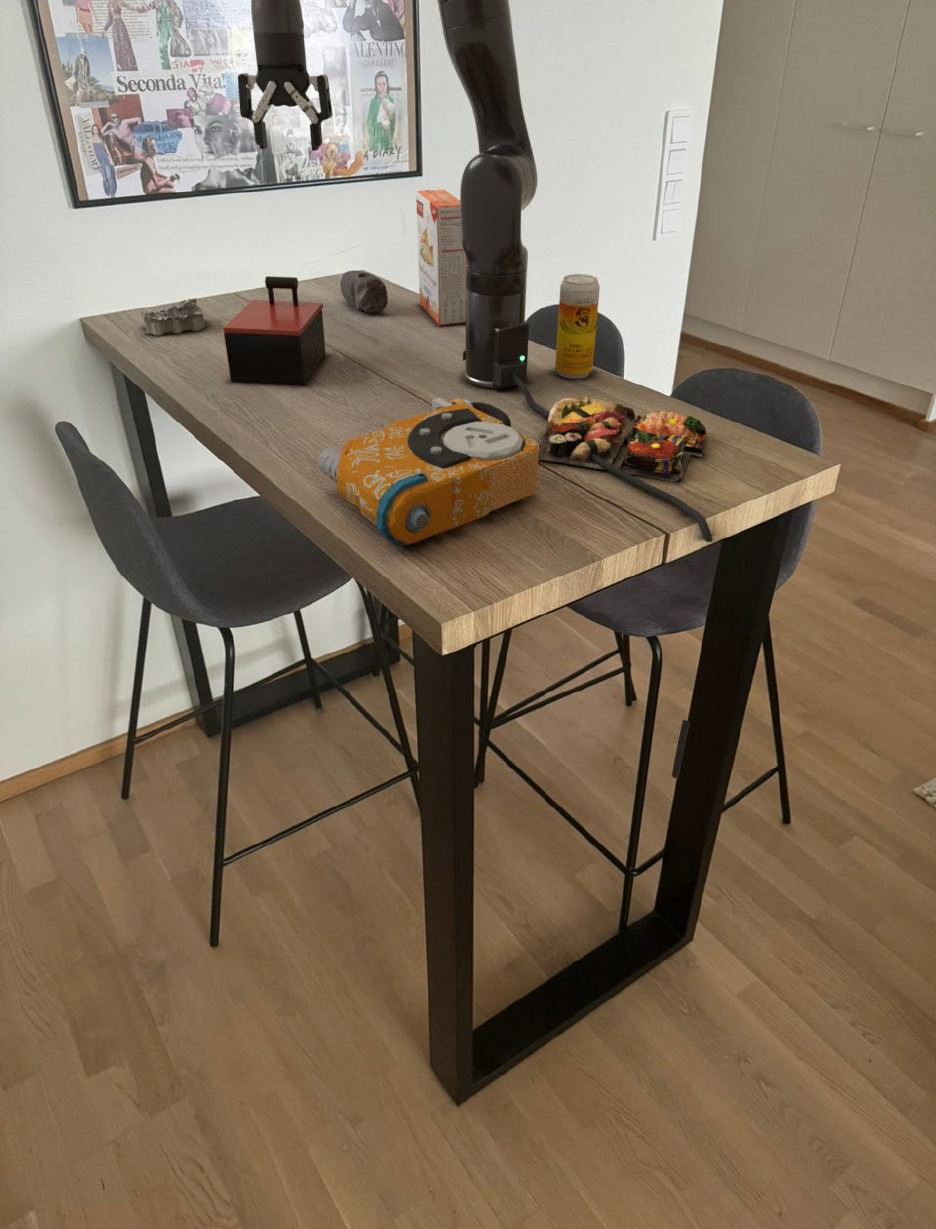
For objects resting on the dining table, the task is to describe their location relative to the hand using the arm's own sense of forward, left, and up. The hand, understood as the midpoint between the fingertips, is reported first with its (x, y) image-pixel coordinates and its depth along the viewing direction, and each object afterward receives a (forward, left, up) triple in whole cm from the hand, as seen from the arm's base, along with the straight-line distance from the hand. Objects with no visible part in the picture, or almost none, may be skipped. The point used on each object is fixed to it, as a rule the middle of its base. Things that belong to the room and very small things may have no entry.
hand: (289, 149), depth 144 cm
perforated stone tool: (+8, -17, -30) cm, 35 cm away
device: (-62, +17, -30) cm, 71 cm away
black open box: (-12, +12, -30) cm, 35 cm away
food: (-67, -11, -30) cm, 75 cm away
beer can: (-43, -25, -30) cm, 58 cm away
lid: (-12, +12, -22) cm, 28 cm away
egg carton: (+18, +17, -30) cm, 39 cm away
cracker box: (-5, -27, -30) cm, 40 cm away
